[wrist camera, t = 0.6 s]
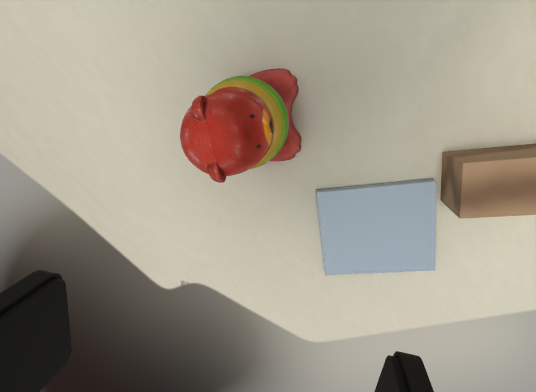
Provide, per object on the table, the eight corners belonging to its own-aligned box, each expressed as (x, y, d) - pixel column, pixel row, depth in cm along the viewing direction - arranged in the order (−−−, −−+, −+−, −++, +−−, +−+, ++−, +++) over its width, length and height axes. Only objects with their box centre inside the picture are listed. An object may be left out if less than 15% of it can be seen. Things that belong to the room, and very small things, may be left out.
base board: (316, 189, 41) (316, 192, 40) (432, 178, 38) (436, 181, 37) (325, 270, 45) (325, 274, 44) (432, 265, 42) (435, 270, 41)
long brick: (442, 151, 37) (463, 163, 32) (539, 143, 35) (579, 153, 30) (440, 199, 39) (459, 218, 34) (532, 193, 37) (569, 212, 32)
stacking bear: (302, 158, 40) (288, 209, 24) (226, 162, 42) (162, 212, 25) (297, 66, 37) (276, 50, 20) (214, 75, 39) (132, 68, 22)
